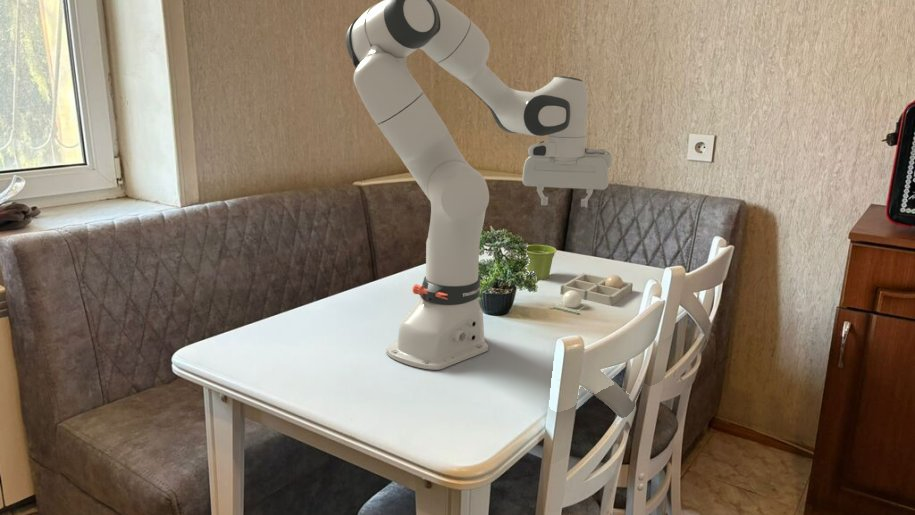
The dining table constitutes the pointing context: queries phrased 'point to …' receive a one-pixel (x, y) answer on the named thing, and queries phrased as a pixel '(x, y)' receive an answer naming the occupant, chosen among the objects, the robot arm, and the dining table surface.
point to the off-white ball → (571, 299)
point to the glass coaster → (569, 309)
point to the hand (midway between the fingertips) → (564, 205)
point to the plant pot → (540, 260)
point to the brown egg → (614, 282)
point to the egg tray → (596, 289)
